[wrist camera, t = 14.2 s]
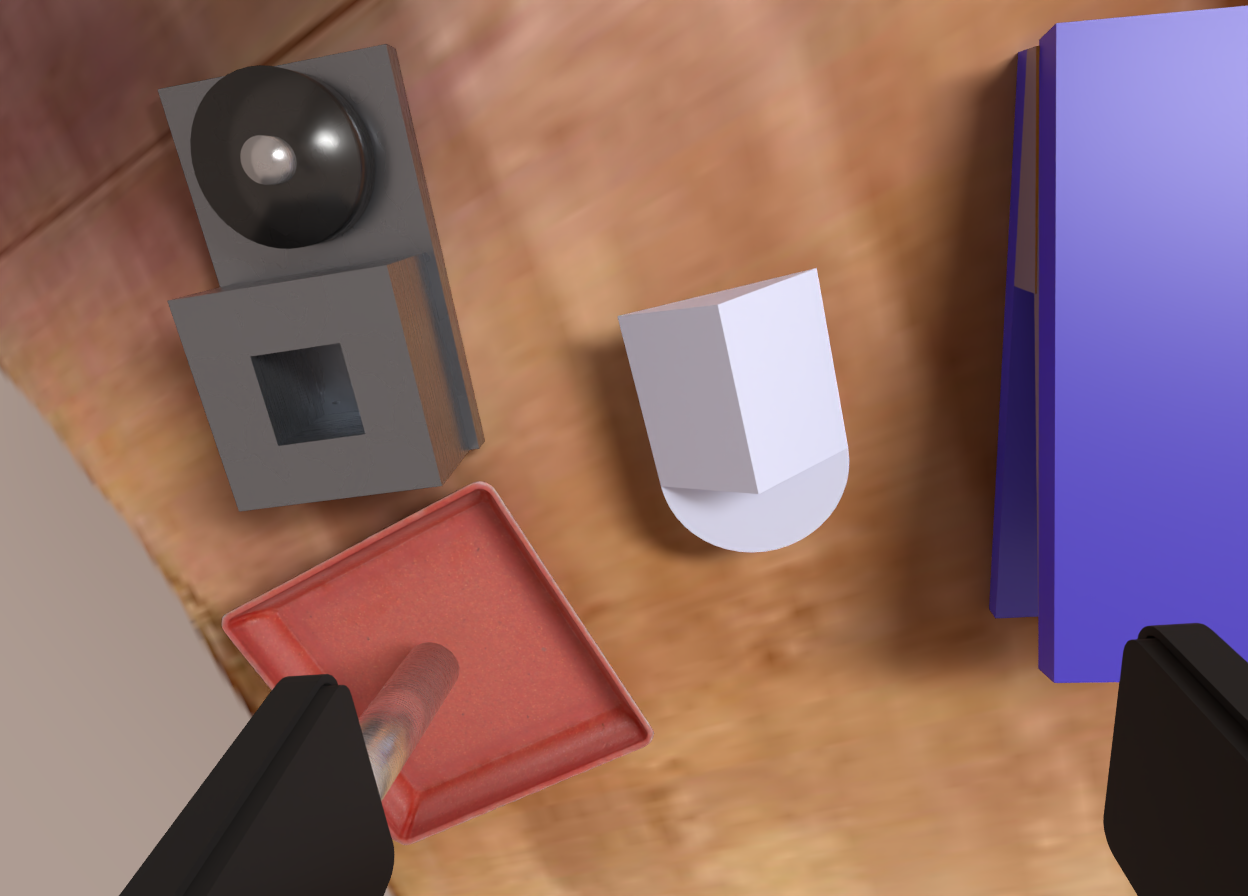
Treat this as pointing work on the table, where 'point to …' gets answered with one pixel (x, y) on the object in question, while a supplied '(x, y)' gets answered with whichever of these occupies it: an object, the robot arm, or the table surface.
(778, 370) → the wedge on round base
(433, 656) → the pin
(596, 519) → the table surface
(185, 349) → the block
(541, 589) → the plant saucer
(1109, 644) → the stapler
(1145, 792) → the robot arm
